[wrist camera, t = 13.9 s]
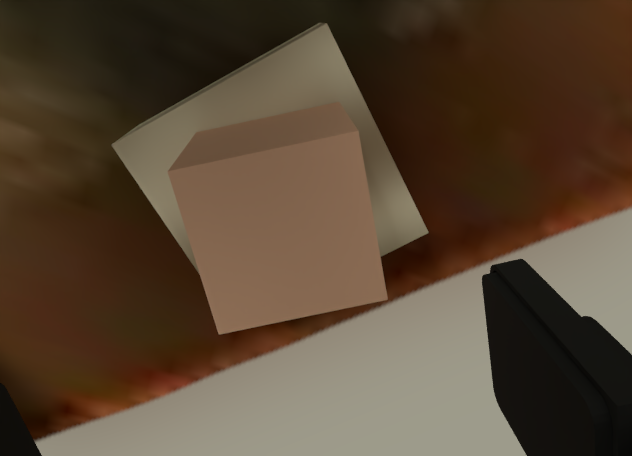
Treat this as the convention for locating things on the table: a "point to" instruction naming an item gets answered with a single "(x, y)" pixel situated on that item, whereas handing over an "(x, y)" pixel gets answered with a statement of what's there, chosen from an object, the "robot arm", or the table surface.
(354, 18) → the table surface
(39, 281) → the table surface
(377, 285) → the terracotta block
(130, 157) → the ash base block
